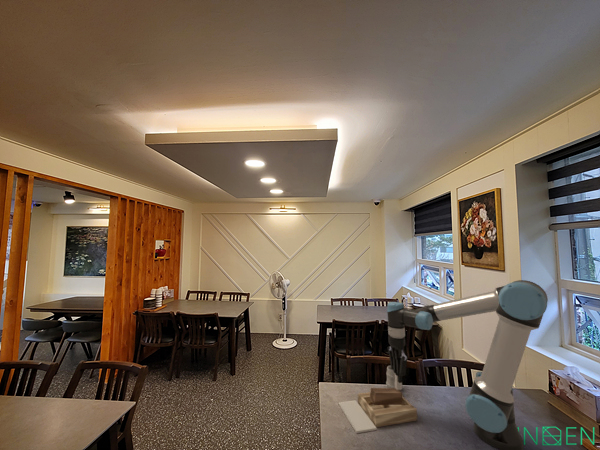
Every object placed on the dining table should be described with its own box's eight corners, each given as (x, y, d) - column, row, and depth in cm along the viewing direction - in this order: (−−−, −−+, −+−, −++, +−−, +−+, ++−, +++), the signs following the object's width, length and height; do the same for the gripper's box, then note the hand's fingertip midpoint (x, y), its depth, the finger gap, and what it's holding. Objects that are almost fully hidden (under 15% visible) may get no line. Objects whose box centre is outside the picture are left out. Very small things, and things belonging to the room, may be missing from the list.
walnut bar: (401, 404, 110) (402, 393, 110) (374, 404, 107) (375, 392, 107) (396, 399, 114) (397, 388, 114) (369, 399, 111) (370, 387, 111)
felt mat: (376, 430, 98) (376, 427, 98) (356, 433, 96) (356, 431, 96) (355, 401, 116) (355, 400, 117) (338, 404, 114) (338, 402, 114)
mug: (398, 384, 133) (397, 361, 134) (406, 396, 121) (405, 371, 123) (384, 383, 134) (384, 360, 135) (390, 395, 122) (390, 370, 123)
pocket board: (417, 420, 104) (416, 409, 105) (375, 427, 100) (375, 415, 100) (394, 398, 120) (394, 388, 120) (357, 403, 115) (357, 393, 116)
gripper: (381, 332, 120) (383, 382, 117) (398, 341, 108) (400, 397, 105) (395, 331, 122) (397, 380, 119) (412, 340, 109) (415, 395, 107)
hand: (398, 388), depth 112 cm, fingers closed
